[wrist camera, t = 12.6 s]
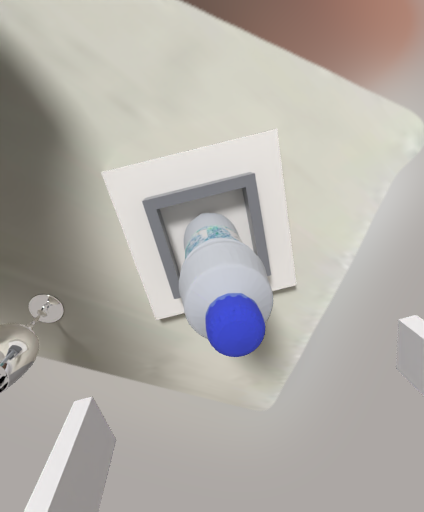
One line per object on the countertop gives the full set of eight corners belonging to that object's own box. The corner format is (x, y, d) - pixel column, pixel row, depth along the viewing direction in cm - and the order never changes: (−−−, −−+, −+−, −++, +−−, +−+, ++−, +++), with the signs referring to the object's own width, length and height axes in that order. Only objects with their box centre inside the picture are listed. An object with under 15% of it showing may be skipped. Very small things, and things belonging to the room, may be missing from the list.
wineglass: (16, 313, 36) (-63, 385, 24) (35, 282, 34) (-39, 342, 23) (56, 332, 37) (0, 408, 26) (76, 303, 36) (26, 370, 25)
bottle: (242, 250, 34) (310, 366, 15) (192, 266, 34) (199, 401, 15) (227, 200, 31) (286, 264, 12) (174, 218, 31) (154, 308, 13)
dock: (105, 171, 30) (93, 173, 26) (272, 129, 30) (285, 125, 27) (157, 314, 37) (153, 331, 34) (292, 280, 38) (304, 293, 34)
